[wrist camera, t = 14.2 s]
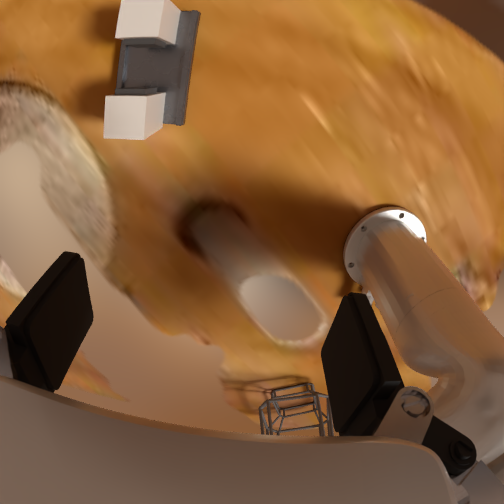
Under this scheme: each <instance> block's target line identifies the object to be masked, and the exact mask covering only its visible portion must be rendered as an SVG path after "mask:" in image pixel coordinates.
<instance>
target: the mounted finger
mask: <svg viewBox="0 0 504 504" xmlns="http://www.w3.org/2000/svg"><path fill="white" fill-rule="evenodd" d="M180 12H181V11H180V10H179V9H178V8H177V7H176V6H175V5H174V4H173V3H172V2H171V1H170V0H122V1H121V6H120V11H119V16H118V22H117V28H116V35H115V38H117V39H121V40H124V43H123V45H127V46H131V47H135V48H165V46H166V44H173V45H175V41H176V35H177V29H178V23H179V18H180Z"/></svg>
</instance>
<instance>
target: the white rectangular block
mask: <svg viewBox="0 0 504 504" xmlns="http://www.w3.org/2000/svg"><path fill="white" fill-rule="evenodd" d="M165 96H166V92H157V88H155V87H126V88H118V89H115V94H114V95H108V96H106V98H105V115H104V138H111V139H134V140H144V139H146V138H147V137H149V136H150V135H152V134H153V133H155V132H157V131H158V130H160V129H161V128H162V126H163V115H164V105H165Z"/></svg>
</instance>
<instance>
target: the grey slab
mask: <svg viewBox="0 0 504 504" xmlns="http://www.w3.org/2000/svg"><path fill="white" fill-rule="evenodd" d="M200 15H201V13H200V12H198V11H195V10H192V11H181V12H180V18H179V23H178V29H177V35H176V41H175V45H173V44H166V46H165V48H135V47H131V46H127V45H123V43H124V40H122V42H121V50H120V57H119V66H118V75H117V85H116V89H118V88H126V87H155V88H157V92H166V96H165V105H164V115H163V123H164V124H176V125H179V126H181V125H184V124H185V117H186V108H187V100H188V92H189V84H190V77H191V70H192V63H193V56H194V50H195V44H196V38H197V32H198V26H199V20H200Z"/></svg>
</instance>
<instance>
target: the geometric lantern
mask: <svg viewBox="0 0 504 504" xmlns="http://www.w3.org/2000/svg"><path fill="white" fill-rule="evenodd" d="M305 385H306V388H307V391H304V392H299V393H293V394H288V395H283V396H277V397H276V392H275V391H281V390H286V389H291V388H296V387H300V386H305ZM308 385H311V390H309V388H308ZM308 392H310V393H312V394H309V395H302V396H294V397H287V396H293V395H298V394H303V393H308ZM273 394H274V395H273ZM282 397H287V398H282ZM307 397H313V398H314V402H313V403H309V404H304V405H300V406H295V407H290V408H279V406H278V403H277V401H285V400H293V399H300V398H307ZM319 397H325V398H327V416H326V415H325V414H324V413H323V412H321V407H320V401H319ZM276 398H278V399H276ZM271 402H272V403H273V405H274V407H275V409H276V411H277V413H278V415H279V416H278V417H277V418H276V419H275V420H274V422H273V423H272V421H271V412H270V403H271ZM274 402H275V403H276V405H277V407H278V409H279V411H278V409H277V407H276V405H275V403H274ZM312 404H313V410H311V411H306V412H302V413H297V414H292V415H287V416H285V410H288V409H293V408H298V407H303V406H307V405H312ZM315 405H316V409H315ZM266 406H267V412H268V422H269V427H268V426H267V423H266V420H265V417H264V414H263V411H262V409H263V408H264V407H266ZM280 410H283V416H282V415H281V412H280ZM316 410H318V413H319V417H318V414H317V412H316ZM313 411H314V412H315V414H316V416H317V419H318V421H319V423H320V424H317V425H312V426H306V427H300V428H293V429H286V430H281V427H282V423H283V419H284V418H286V417H291V416H295V415H300V414H305V413H309V412H313ZM322 415H323V416H324V417H325V418H327V420H326V421H324V422H323V419H322ZM259 416H260V426H261V435H264V426H263V422H264V425H265V428H266V435H269V431H270V435H273V432H275V433H277V435H279V433H281V432H288V431H295V430H302V429H308V428H314V427H319V433H320V436H325V431H324V424H325V423H327V426H328V436H334V434H333V423H332V414H331V407H330V401H329V396H328V395H325V394H322V393H319V392H315V389H314V385H313V384H311V383H306V384H301V385H296V386H291V387H287V388H282V389H276V390H273V392H272V393H271V399H269V400H266V401H265V402H264V403H263V404H262V405H261V406H260V407H259ZM279 417H282V420H281V424H280V428H279V431H277V430H274V429H272V425H273V424H274V423H275V422H276V421H277V420H278V418H279ZM279 436H280V435H279Z"/></svg>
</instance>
